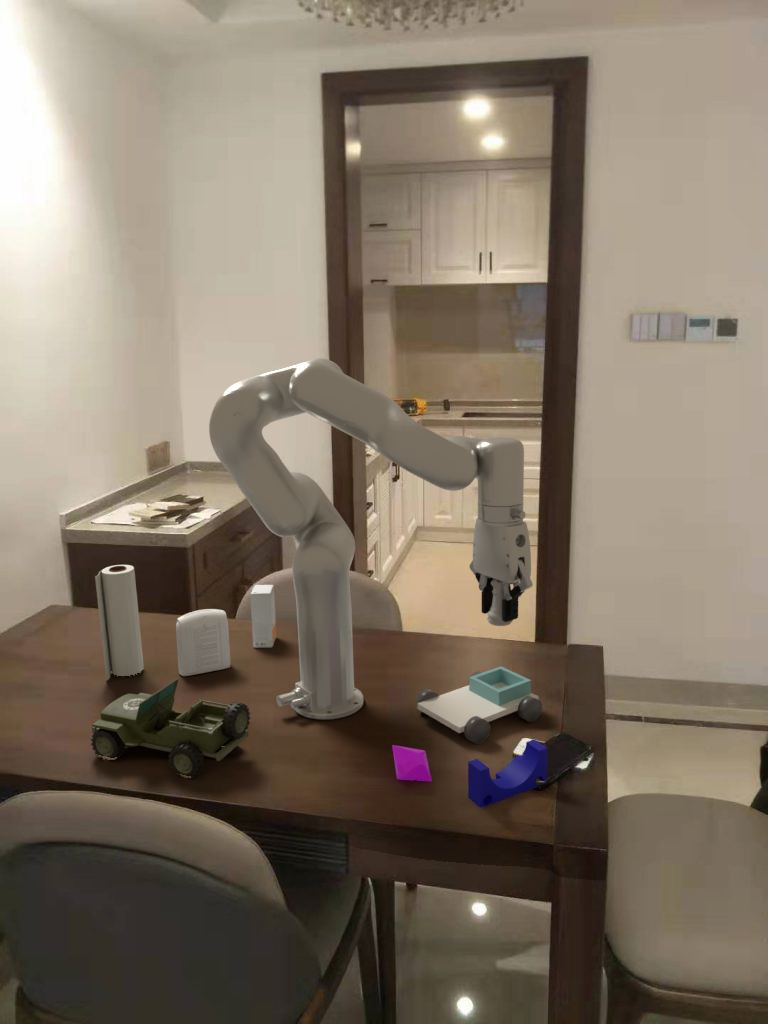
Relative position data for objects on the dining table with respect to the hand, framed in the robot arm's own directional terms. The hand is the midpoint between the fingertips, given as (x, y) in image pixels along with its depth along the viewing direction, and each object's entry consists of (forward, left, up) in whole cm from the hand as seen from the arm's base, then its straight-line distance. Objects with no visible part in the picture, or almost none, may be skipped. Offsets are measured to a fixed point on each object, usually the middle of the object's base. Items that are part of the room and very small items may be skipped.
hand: (499, 614), depth 150 cm
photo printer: (-34, +48, -18) cm, 61 cm away
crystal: (-26, -9, -18) cm, 33 cm away
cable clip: (-17, -20, -18) cm, 32 cm away
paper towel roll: (-47, +57, -18) cm, 76 cm away
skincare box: (-18, +53, -18) cm, 58 cm away
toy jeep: (-52, +21, -18) cm, 59 cm away
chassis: (-5, 0, -17) cm, 18 cm away
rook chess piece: (0, 0, -2) cm, 2 cm away
